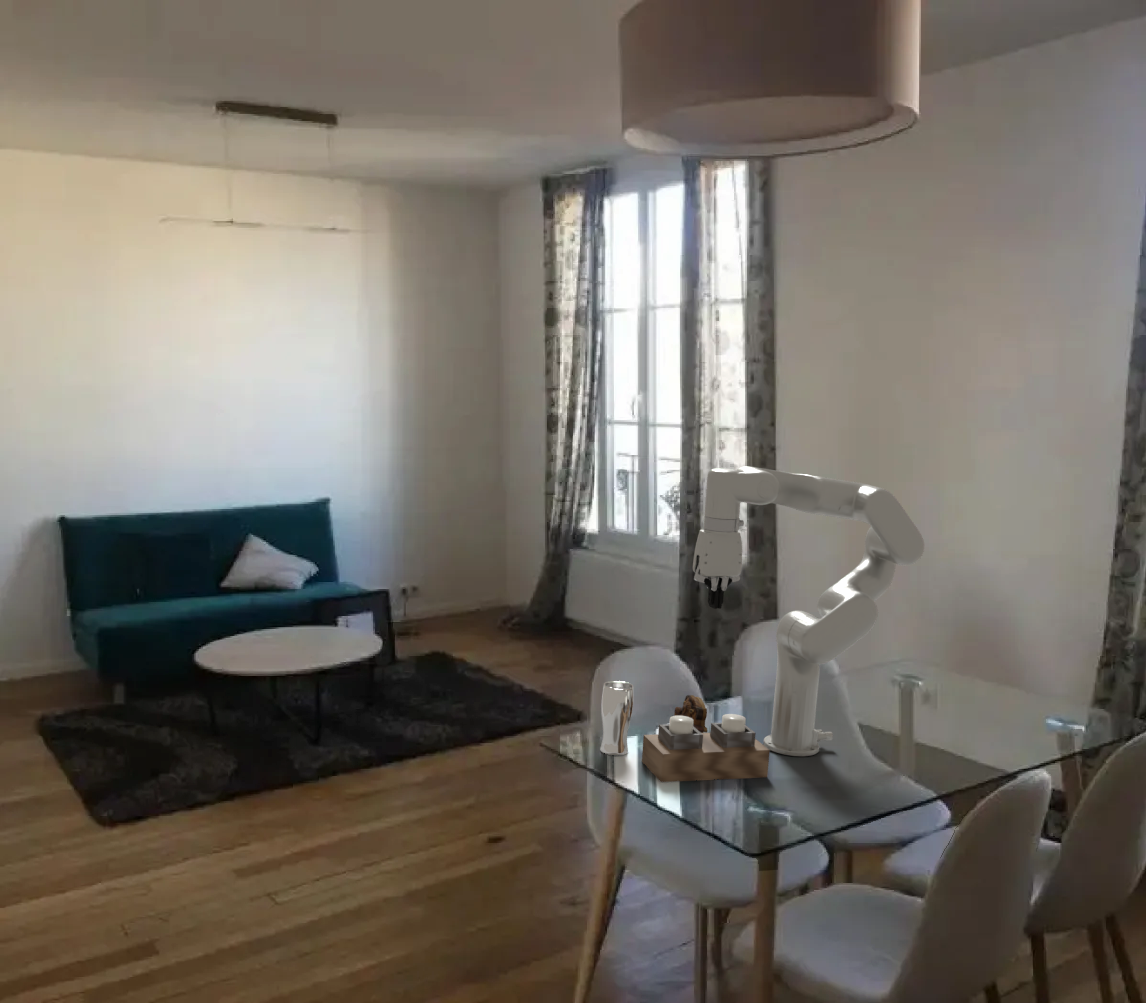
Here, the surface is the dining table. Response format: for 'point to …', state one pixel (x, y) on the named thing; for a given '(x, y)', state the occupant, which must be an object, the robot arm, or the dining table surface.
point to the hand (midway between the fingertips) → (714, 607)
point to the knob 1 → (681, 725)
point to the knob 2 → (733, 723)
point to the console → (705, 755)
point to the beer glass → (616, 716)
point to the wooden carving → (694, 712)
